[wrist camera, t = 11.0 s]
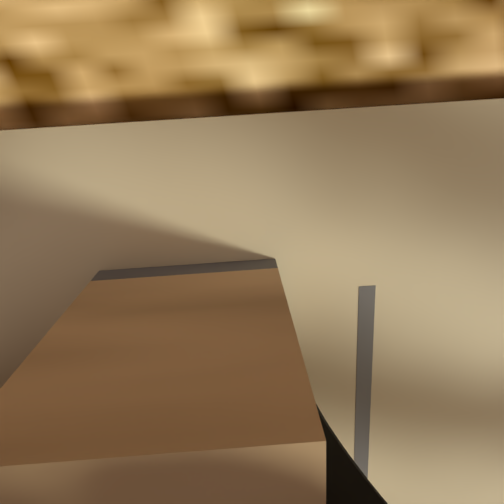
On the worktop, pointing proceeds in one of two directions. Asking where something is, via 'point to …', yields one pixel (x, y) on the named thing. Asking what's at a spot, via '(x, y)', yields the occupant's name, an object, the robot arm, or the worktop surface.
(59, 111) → the worktop surface
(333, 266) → the board
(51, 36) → the worktop surface
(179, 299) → the block
